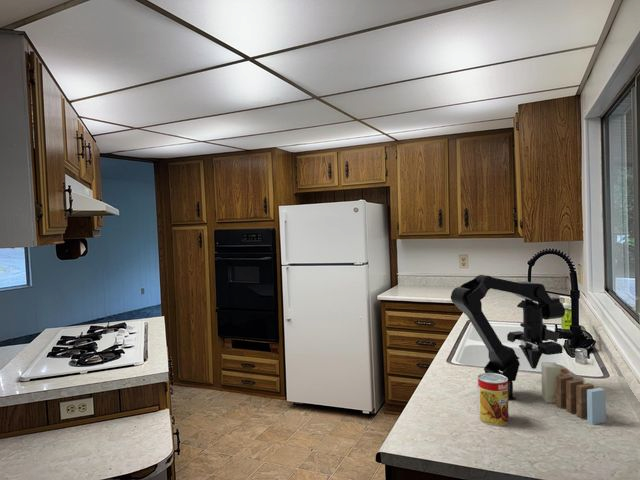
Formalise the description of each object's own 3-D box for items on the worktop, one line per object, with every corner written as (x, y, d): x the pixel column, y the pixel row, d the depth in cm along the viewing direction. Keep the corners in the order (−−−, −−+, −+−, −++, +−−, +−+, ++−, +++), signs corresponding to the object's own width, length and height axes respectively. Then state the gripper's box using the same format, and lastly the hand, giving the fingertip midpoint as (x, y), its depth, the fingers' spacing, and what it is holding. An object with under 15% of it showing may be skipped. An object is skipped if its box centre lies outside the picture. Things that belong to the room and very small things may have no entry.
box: (561, 403, 131) (561, 367, 131) (546, 402, 132) (545, 366, 132) (556, 396, 137) (555, 361, 136) (541, 396, 137) (540, 361, 137)
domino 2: (583, 411, 125) (583, 380, 125) (571, 413, 124) (570, 382, 124) (579, 409, 127) (578, 379, 127) (566, 411, 126) (566, 380, 126)
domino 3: (594, 416, 122) (593, 385, 122) (581, 419, 121) (580, 387, 121) (589, 414, 124) (588, 383, 123) (576, 416, 122) (576, 385, 122)
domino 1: (573, 406, 129) (573, 376, 129) (561, 408, 128) (560, 378, 128) (569, 404, 131) (568, 375, 130) (556, 406, 129) (556, 376, 129)
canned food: (509, 427, 118) (508, 383, 117) (478, 423, 120) (477, 381, 120) (507, 415, 125) (506, 374, 124) (478, 412, 128) (477, 371, 127)
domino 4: (605, 422, 119) (605, 389, 118) (592, 424, 117) (591, 391, 117) (600, 419, 120) (599, 387, 120) (587, 422, 119) (586, 389, 119)
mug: (589, 393, 139) (573, 367, 139) (559, 400, 144) (543, 375, 144) (588, 380, 145) (572, 355, 145) (558, 387, 151) (543, 363, 150)
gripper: (576, 324, 134) (577, 374, 134) (533, 313, 152) (534, 357, 152) (546, 328, 131) (547, 379, 132) (505, 316, 149) (506, 361, 150)
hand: (533, 368), depth 141 cm, fingers closed
